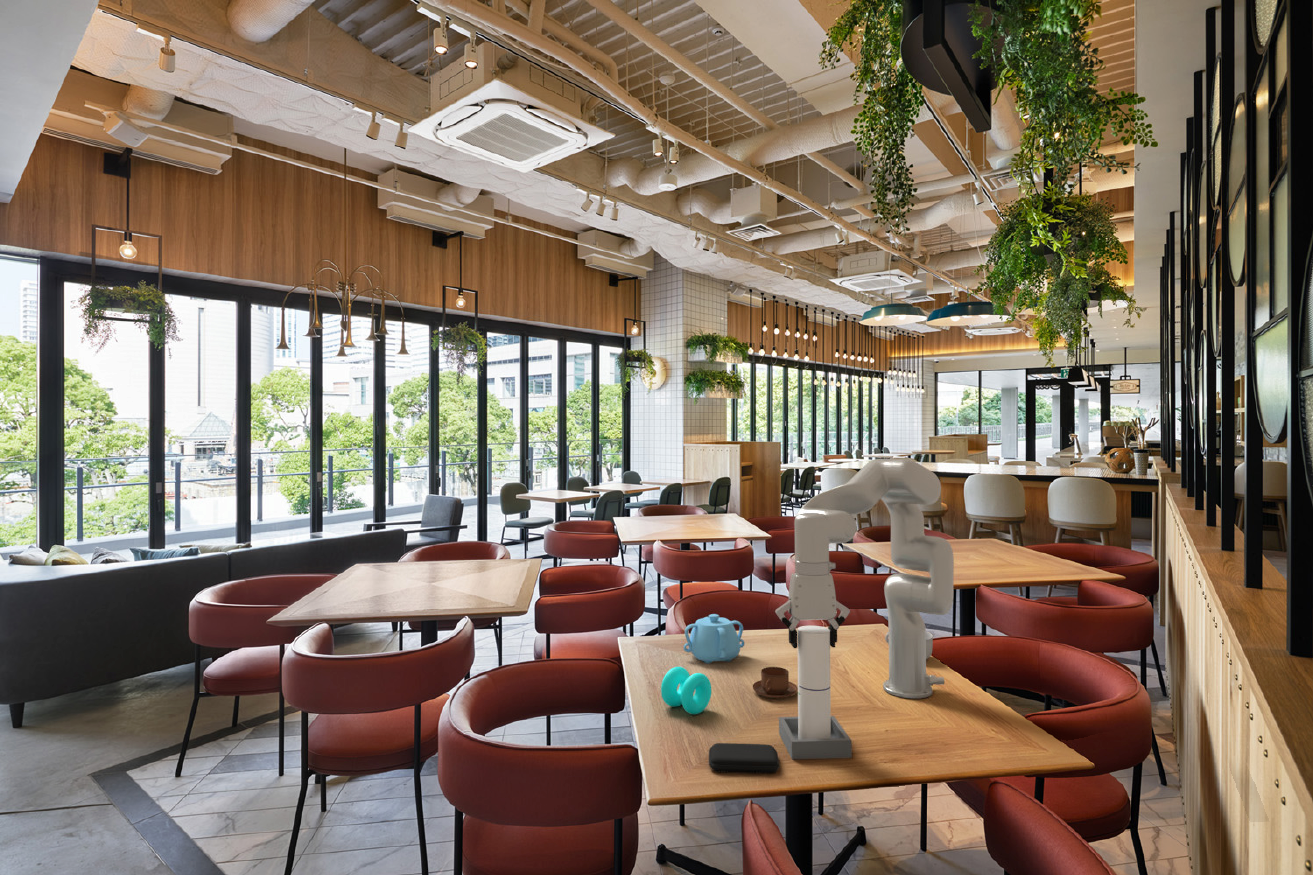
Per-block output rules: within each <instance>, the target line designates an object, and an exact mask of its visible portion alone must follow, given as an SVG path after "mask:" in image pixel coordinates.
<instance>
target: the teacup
mask: <svg viewBox="0 0 1313 875" xmlns="http://www.w3.org/2000/svg"><path fill="white" fill-rule="evenodd" d="M933 638H934V634H932V633H931V632H929V631H927V630H926V660H928V659H929V658H930V657H931V656H932V653H933V644H934V642H933V641H934V640H933ZM884 639H885V642H886V643H887V645H889V631H888V632H886V634H885V637H884Z"/></svg>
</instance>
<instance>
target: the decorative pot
mask: <svg viewBox="0 0 1313 875" xmlns="http://www.w3.org/2000/svg"><path fill="white" fill-rule="evenodd" d="M734 625H738V626H739V629H738V633H737V631H736V630H737V629H736V628H735V626H734ZM689 630H691V631H690V635H689ZM743 633H744V626H743V624H742V623H741V622H740V621H738V620H729V619H728V618H726V617H720V615H719V614H717V613H712V614H709V615H708V616H705V617H702V618H699V619H697V620H696V621H695V623H691V624H688V625H687V626H686V627H685V629H684V637H685V638H686V643H685V644H684V645H683V651H684V652H686V653H691V654H692V655H693V657H694V658H695V659H697V660H699V661H703V663H704V664H712V663H713V662H721V661H722V662H726V663H729V662H732V660H733V659H736V658H737V656H739V653H740V651H741V648H743V647H745V641H744V639H742V635H743ZM740 642H741V643H740ZM687 646H688V648H687Z"/></svg>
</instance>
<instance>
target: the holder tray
mask: <svg viewBox="0 0 1313 875" xmlns="http://www.w3.org/2000/svg"><path fill="white" fill-rule="evenodd" d="M778 734H779V736H780V738H781V741H782V742H783V744H784V746H785V748H786V750H787V752H788V754H789V757H790V758H791V760H812V759H813V760H819V759H850V758H852V757H853V756H852V753H853V752H852V751H853V750H852V748H853V747H852V739H851V738H850V735H848V733H847V732H846V730H845V729H844V728H843V726H842V725H841V723H840V722H839V721H838V719H837V718H836V717H835V716H834V715H831V739H799V740H798V716H778Z"/></svg>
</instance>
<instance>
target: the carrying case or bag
mask: <svg viewBox="0 0 1313 875" xmlns="http://www.w3.org/2000/svg"><path fill="white" fill-rule="evenodd" d="M780 764H781V763H780V760H779V755H778V751H777V749H776V748H775V747H774V746H773V745H771V744H764V743H762V744H760V743H735V742H734V743H730V742H729V743H727V742H722V743H721V742H718V743H713V744H712V745H711V747H710V748H709V749H708V766H709V767H710V768H711V769H712V771H714V772H717V773H734V774H735V773H736V774H760V775H761V774H767V775H768V774H769V775H770V774H775V773H777V771H778V770H779V769H780V766H781V765H780Z"/></svg>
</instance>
